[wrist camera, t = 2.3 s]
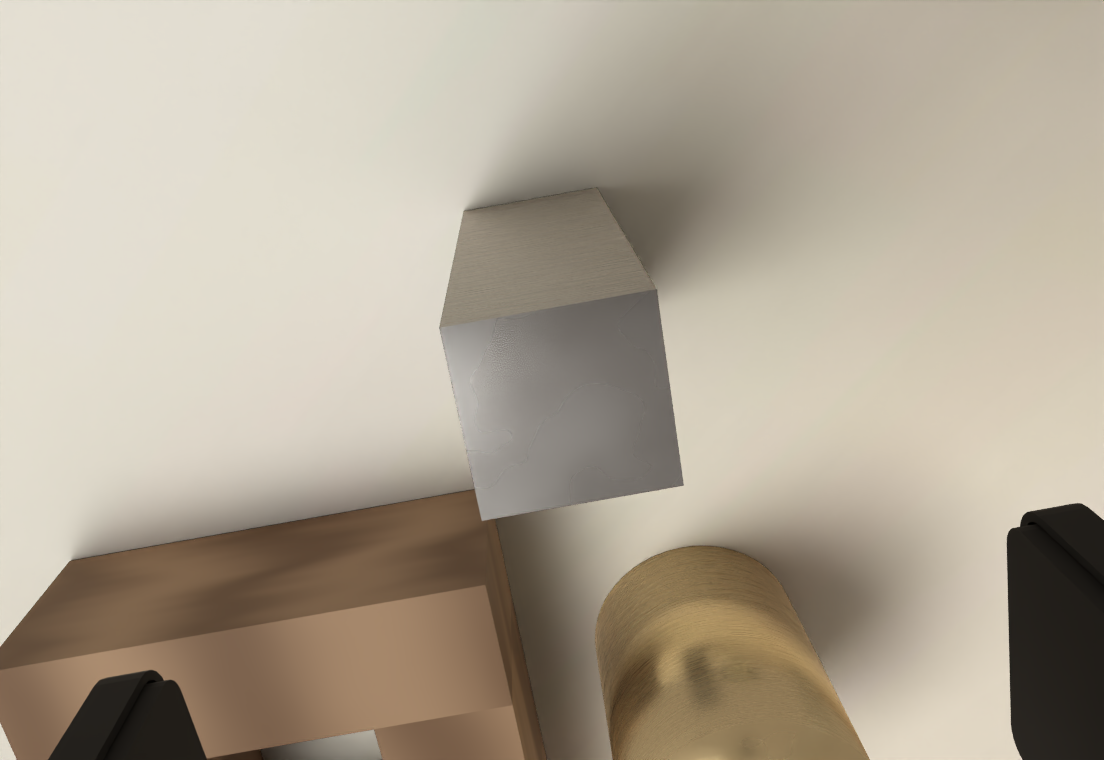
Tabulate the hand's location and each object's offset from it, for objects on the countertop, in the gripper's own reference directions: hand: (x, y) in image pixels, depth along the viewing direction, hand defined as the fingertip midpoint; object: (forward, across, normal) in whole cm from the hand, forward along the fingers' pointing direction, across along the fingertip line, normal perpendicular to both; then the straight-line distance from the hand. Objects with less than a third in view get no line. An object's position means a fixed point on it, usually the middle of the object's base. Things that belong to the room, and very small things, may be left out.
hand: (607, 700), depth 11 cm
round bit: (+20, -3, +14) cm, 25 cm away
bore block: (+20, +10, +14) cm, 26 cm away
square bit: (+20, 0, 0) cm, 20 cm away
